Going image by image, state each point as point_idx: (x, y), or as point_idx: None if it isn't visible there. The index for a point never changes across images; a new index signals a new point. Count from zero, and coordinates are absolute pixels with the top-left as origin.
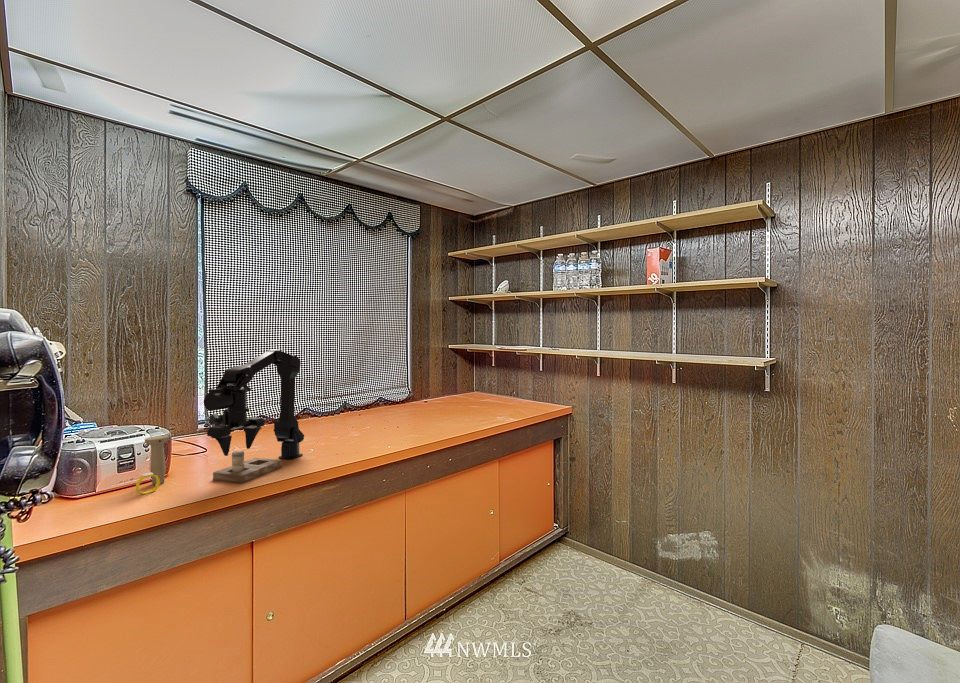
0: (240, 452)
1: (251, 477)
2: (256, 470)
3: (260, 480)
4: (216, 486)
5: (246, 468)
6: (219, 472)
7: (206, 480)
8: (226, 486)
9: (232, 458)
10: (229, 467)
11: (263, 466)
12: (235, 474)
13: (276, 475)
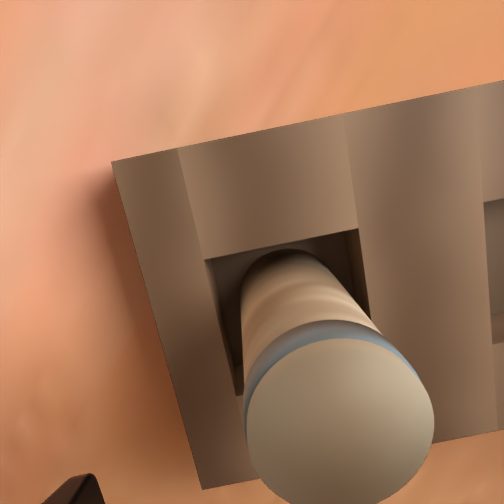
0: (347, 482)
1: None
2: None
3: None
4: (61, 345)
5: None
6: (147, 229)
7: (89, 116)
8: (106, 406)
9: (246, 375)
10: (307, 153)
11: (473, 417)
12: (194, 416)
13: (446, 488)
